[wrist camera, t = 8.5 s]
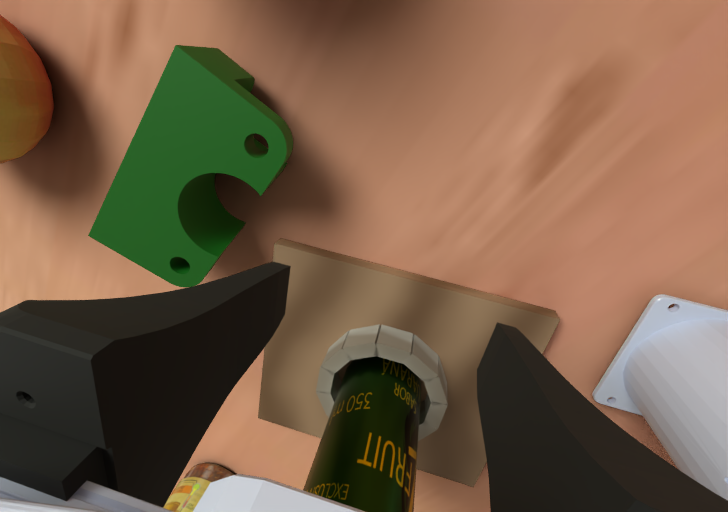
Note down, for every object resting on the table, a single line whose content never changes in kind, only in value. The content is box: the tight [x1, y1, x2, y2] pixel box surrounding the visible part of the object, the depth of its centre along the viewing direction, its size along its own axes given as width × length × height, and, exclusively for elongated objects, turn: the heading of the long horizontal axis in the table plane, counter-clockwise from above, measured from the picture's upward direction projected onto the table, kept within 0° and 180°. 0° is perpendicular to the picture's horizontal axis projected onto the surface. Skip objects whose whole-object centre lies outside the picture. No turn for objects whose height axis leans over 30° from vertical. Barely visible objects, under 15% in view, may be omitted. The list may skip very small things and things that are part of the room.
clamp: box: [88, 45, 293, 287], centre depth 19 cm, size 12×6×9 cm, turn 136°
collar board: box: [258, 238, 560, 487], centre depth 24 cm, size 18×16×3 cm
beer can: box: [303, 356, 421, 512], centre depth 20 cm, size 5×5×12 cm
